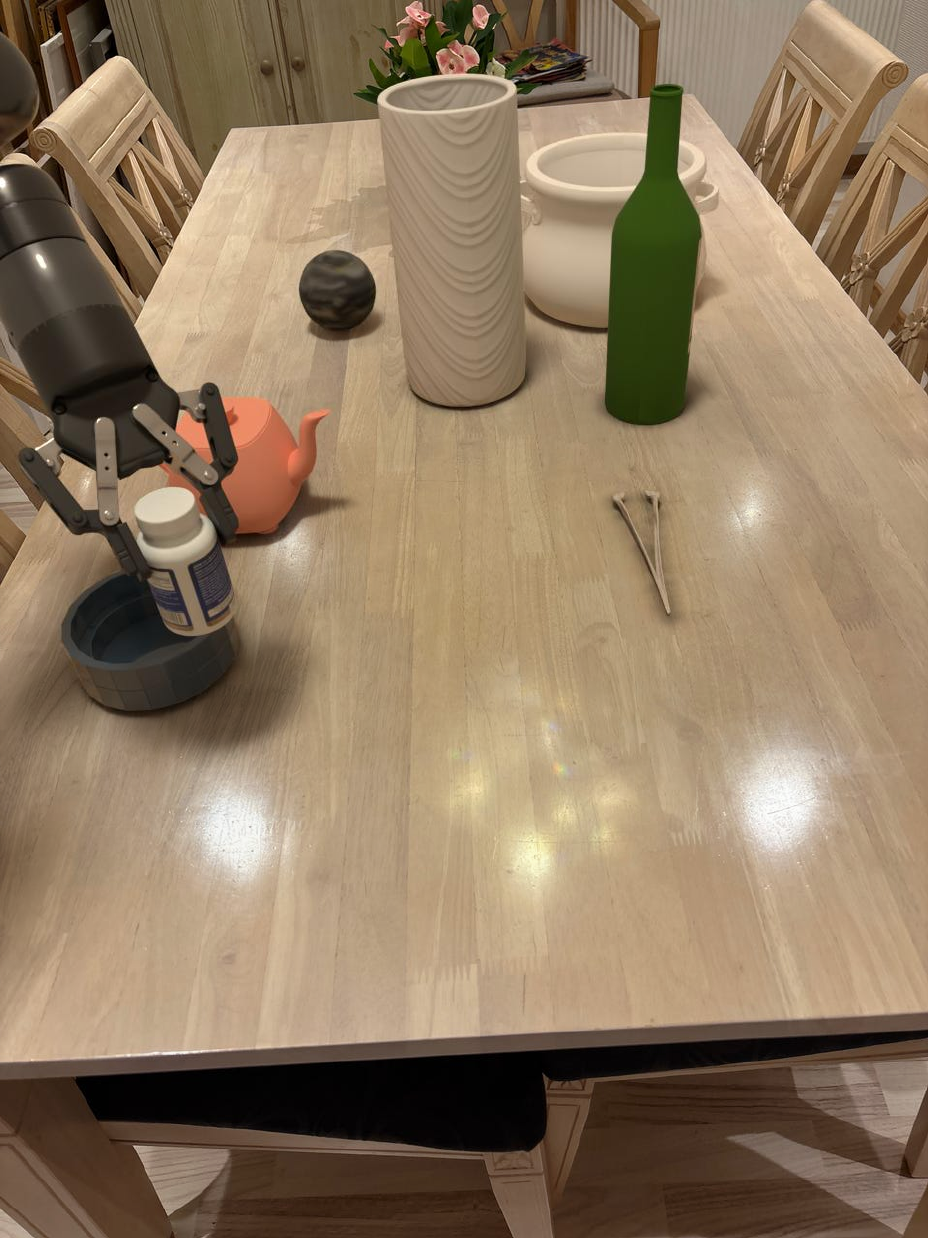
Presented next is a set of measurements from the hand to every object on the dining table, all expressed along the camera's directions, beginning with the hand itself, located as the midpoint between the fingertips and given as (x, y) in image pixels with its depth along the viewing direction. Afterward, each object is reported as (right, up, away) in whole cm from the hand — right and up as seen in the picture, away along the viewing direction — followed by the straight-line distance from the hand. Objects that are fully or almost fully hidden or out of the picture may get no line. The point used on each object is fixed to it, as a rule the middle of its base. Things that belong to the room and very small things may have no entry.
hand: (188, 558), depth 65 cm
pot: (+38, +40, +67) cm, 87 cm away
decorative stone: (+2, +35, +65) cm, 74 cm away
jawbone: (+36, +2, +26) cm, 44 cm away
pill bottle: (-1, -4, +5) cm, 7 cm away
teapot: (-3, +7, +35) cm, 36 cm away
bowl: (-8, -7, +20) cm, 22 cm away
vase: (+19, +24, +52) cm, 61 cm away
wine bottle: (+39, +20, +46) cm, 63 cm away
